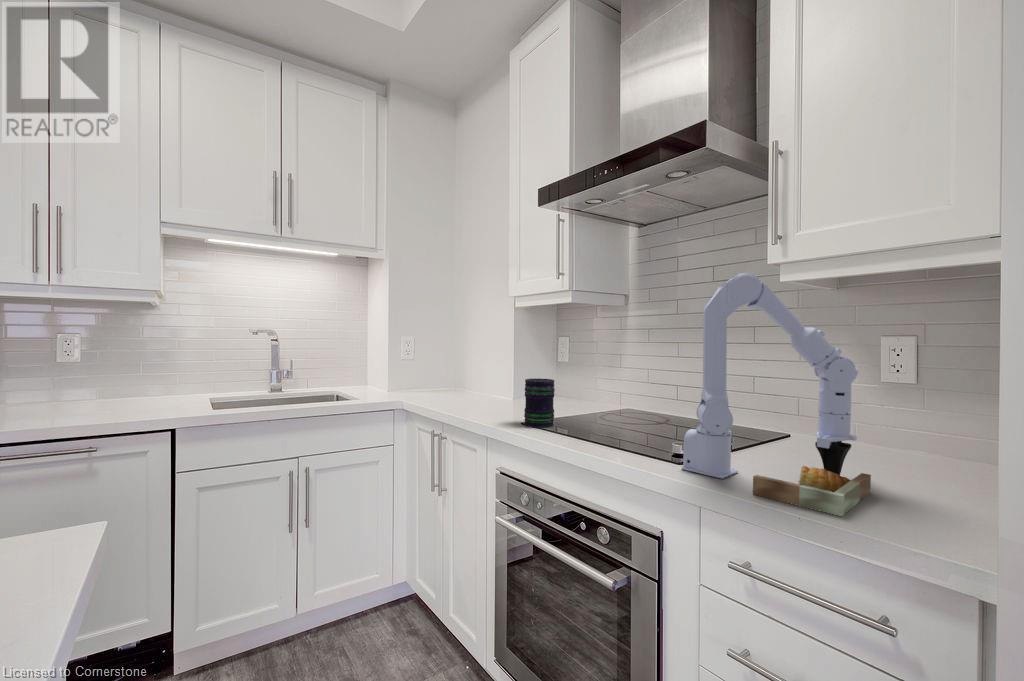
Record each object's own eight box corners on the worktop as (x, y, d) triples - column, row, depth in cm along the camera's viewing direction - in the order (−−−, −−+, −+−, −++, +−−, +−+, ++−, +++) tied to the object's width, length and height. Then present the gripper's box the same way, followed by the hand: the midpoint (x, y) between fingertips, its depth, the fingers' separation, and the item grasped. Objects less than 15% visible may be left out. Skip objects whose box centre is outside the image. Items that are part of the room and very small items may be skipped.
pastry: (853, 488, 98) (853, 469, 98) (854, 497, 92) (855, 478, 92) (799, 479, 103) (800, 462, 103) (797, 488, 97) (798, 469, 97)
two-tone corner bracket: (752, 494, 92) (753, 476, 92) (789, 475, 105) (789, 459, 105) (841, 516, 81) (841, 496, 81) (870, 492, 94) (870, 474, 94)
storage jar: (532, 429, 151) (532, 381, 151) (519, 423, 160) (519, 378, 160) (559, 427, 155) (560, 381, 155) (545, 421, 164) (546, 378, 164)
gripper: (846, 419, 93) (845, 488, 93) (866, 411, 103) (864, 474, 103) (806, 414, 98) (804, 480, 98) (827, 407, 108) (826, 467, 108)
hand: (832, 476), depth 101 cm, fingers closed
